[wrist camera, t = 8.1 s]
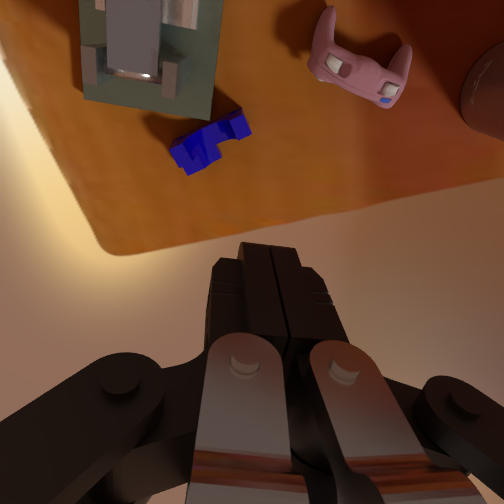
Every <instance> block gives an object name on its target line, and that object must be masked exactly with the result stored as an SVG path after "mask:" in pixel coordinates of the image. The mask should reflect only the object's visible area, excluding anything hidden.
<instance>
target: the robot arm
mask: <svg viewBox="0 0 504 504" xmlns="http://www.w3.org/2000/svg"><path fill="white" fill-rule="evenodd" d="M460 106H461V112H462V116H463V118H464V120H465V122H466V123H467V124H468V125H469V126H470V127H471V128H472V129H474V130H476V131H478V132H480V133H483V134H486V135H488V136H491V137H494V138H496V139H499V140H501V141H504V42H502V43H500V44H498V45H496V46H494V47H493V48H491V49H490V50H489V51H487V52H486V53H485V54H484V55H483V56H482V57H481V58H480V59H479V60H478V61H477V62H476V64H475V65H474V66H473V68H472V69H471V70H470V72H469V74H468V76H467V78H466V80H465V83H464V85H463V88H462V92H461V99H460ZM471 473H472V474H473V475H474V476H475V477H476V478H478V479H479V480H480V481H481V482H483V483H484V484H485V485H486V486H487V487H489V488H490V489H491V490H492V491H493V492H495V493H496V494H497V495H498V496H500V497H501V498H502V499H503V500H504V407H502V406H501V405H499V404H498V403H497V402H495V401H494V400H492V399H491V398H489V397H488V396H486V395H485V394H483V393H482V392H480V391H479V390H477V389H476V388H474V387H473V386H471V385H470V384H468V383H466V382H464V381H462V380H459V379H457V378H453V377H449V376H434V377H432V378H430V379H429V380H428V381H427V382H426V384H425V385H424V387H423V389H422V390H421V389H418V388H415V387H412V386H409V385H406V384H403V383H400V382H397V381H394V380H391V379H388V378H386V377H384V376H382V374H381V372H380V371H379V369H378V367H377V366H376V364H375V362H374V361H373V360H372V359H371V357H370V356H368V355H367V354H366V353H365V352H364V351H362V350H361V349H359V348H358V347H356V346H353V345H351V344H350V343H349V340H348V338H347V336H346V333H345V331H344V328H343V326H342V323H341V321H340V319H339V316H338V314H337V311H336V309H335V306H333V302H332V299H331V297H330V295H328V290H327V287H326V285H325V283H324V280H323V279H322V278H321V277H320V276H319V275H318V274H317V273H316V272H315V271H314V270H313V269H312V268H311V267H302V266H301V263H300V260H299V257H298V254H297V251H296V249H295V248H290V247H282V246H273V245H264V244H256V243H247V242H241V243H240V246H239V251H238V256H237V259H230V258H220V259H219V260H218V261H217V262H216V264H215V265H214V266H213V267H212V274H211V281H210V287H209V295H208V301H207V308H206V319H205V338H204V351H203V352H202V353H201V354H200V355H199V356H198V357H196V358H195V359H193V360H191V361H189V362H187V363H184V364H181V365H177V366H172V367H168V368H163V369H161V367H160V366H159V365H158V364H157V363H156V362H155V361H154V360H152V359H151V358H149V357H147V356H144V355H141V354H137V353H130V352H124V353H115V354H111V355H107V356H105V357H102V358H100V359H98V360H96V361H94V362H93V363H91V364H89V365H88V366H86V367H85V368H83V369H82V370H80V371H79V372H77V373H76V374H74V375H72V376H71V377H69V378H68V379H66V380H65V381H63V382H61V383H60V384H58V385H57V386H55V387H54V388H52V389H51V390H49V391H47V392H46V393H44V394H43V395H41V396H40V397H38V398H37V399H35V400H34V401H32V402H30V403H29V404H27V405H26V406H24V407H23V408H21V409H20V410H18V411H17V412H15V413H13V414H12V415H10V416H9V417H7V418H5V419H4V420H2V421H1V422H0V504H146V503H147V502H148V501H149V499H150V498H151V496H152V495H154V494H157V493H160V492H162V491H165V490H168V489H171V488H174V487H176V486H179V485H182V484H185V483H188V484H187V491H186V498H185V504H487V503H486V501H485V499H484V498H483V497H482V495H481V493H480V492H479V491H478V489H477V487H476V486H475V485H474V484H473V483H472V481H471V480H470V479H469V478H467V477H468V476H469V475H470V474H471Z"/></svg>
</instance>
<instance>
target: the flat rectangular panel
mask: <svg viewBox="0 0 504 504" xmlns="http://www.w3.org/2000/svg"><path fill="white" fill-rule="evenodd" d="M161 16H162V0H106V25H107V57H105V60H104V72H105V74H106V75H111V76H117V77H122V78H128V79H133V80H138V81H144V82H149V83H155V84H160V85H162V73H163V68H162V67H159V62H160V39H161Z"/></svg>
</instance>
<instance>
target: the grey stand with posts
mask: <svg viewBox="0 0 504 504" xmlns="http://www.w3.org/2000/svg"><path fill="white" fill-rule="evenodd" d="M223 1H224V0H162V16H161V39H160V62H159V67H162V68H163V73H162V85H160V84H155V83H149V82H144V81H138V80H133V79H128V78H122V77H117V76H111V75H106V74H105V72H104V60H105V57H107V25H106V0H79V18H80V37H81V45H80V47H81V66H82V83H83V93H84V99H85V100H91V101H97V102H103V103H109V104H115V105H121V106H126V107H132V108H138V109H144V110H150V111H156V112H162V113H167V114H173V115H179V116H185V117H191V118H197V119H202V120H208V121H210V114H211V105H212V97H213V88H214V79H215V71H216V62H217V53H218V44H219V36H220V27H221V18H222V10H223Z"/></svg>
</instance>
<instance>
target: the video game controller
mask: <svg viewBox="0 0 504 504" xmlns="http://www.w3.org/2000/svg"><path fill="white" fill-rule="evenodd" d="M335 22H336V11H335V8H334V6H332V5H331V6H328V7H327V8H326V9H325V10H324V11H323V13H322V14H321V16H320V18H319V20H318V23H317V26H316V29H315V32H314V37H313V42H312V49H311V56H310V58H309V60H308V63H307V64H308V68H309V69H310V71H311V72H312V73H313V74H314V75H315V77H316V78H317V79H318V80H320V81H326V82H329V83H335V84H337V85H338V86H340V87H342V88H343V89H345V90H347V91H349V92H352V93H354V94H356V95H358V96H361V97H363V98H366V99H369V100H371V101H372V102H373V103H375V104H376V105H378V106H380V107H382V108H390V107H392V106H393V104H394V103H395V102H396V101H397V99H398V98H399V97H400V95H401V93H402V91H403V89H404V87H405V84H406V80H407V76H408V72H409V68H410V64H411V59H412V47H411V46H410V45H409V44H404V45H403V46H401V47H400V48H399V50H398V51H397V52H396V53H395V55H394V56H393V58H392V59H391V62H390V64H389V66H388V68H387V69H385V68H383V67H381V66H380V65H379V64H378V63H377V62H376V61H374V60H373V59H371V58H369V57H366V56H361V55H355V54H353V53H351V52H350V51H348V50H346V49H344V48H342V47H340V46H338V45H336V44H335V42H334V28H335Z"/></svg>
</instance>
